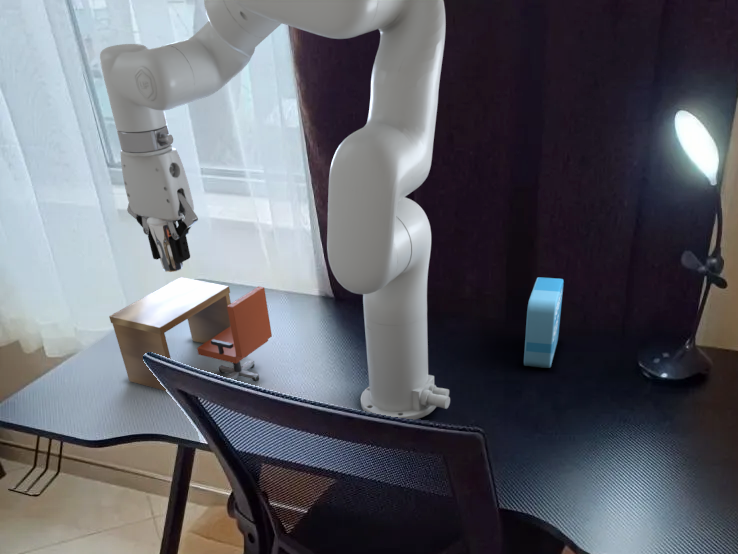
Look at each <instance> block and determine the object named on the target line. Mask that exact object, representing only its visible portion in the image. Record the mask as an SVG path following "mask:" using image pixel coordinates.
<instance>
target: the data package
mask: <svg viewBox="0 0 738 554" xmlns="http://www.w3.org/2000/svg"><path fill="white" fill-rule="evenodd" d="M564 283H565V282H564V279H563V278H554V277H540V276H539V277H536V279H535V282H534V284H533V287H532V291H531V293H530V295H529V299H528V304H527V311H526V325H525V338H524V339H525V340H524V353H523V366H525V367H533V368H544V369H551V367H552V365H553V364H552V363H553V360H554V357H555V353H556V349H557V345H558V341H559V333H560V324H561V313H562V302H563V292H564Z"/></svg>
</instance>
